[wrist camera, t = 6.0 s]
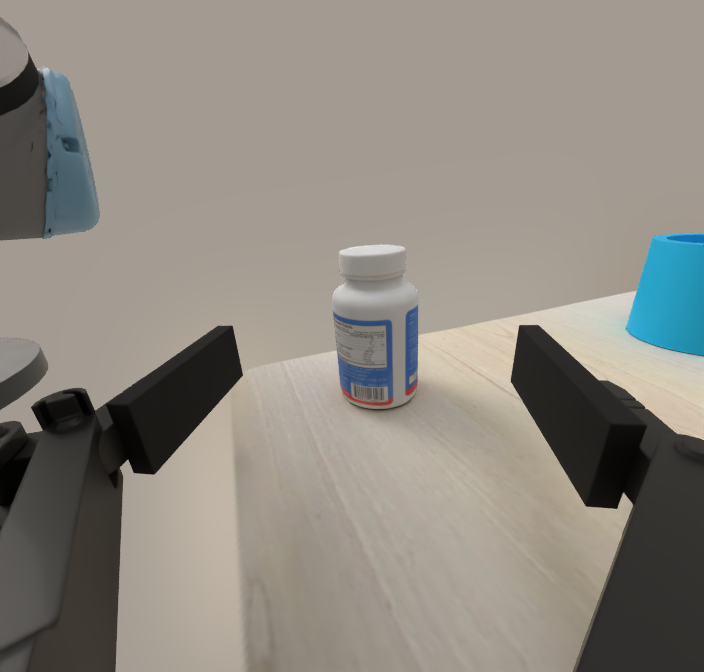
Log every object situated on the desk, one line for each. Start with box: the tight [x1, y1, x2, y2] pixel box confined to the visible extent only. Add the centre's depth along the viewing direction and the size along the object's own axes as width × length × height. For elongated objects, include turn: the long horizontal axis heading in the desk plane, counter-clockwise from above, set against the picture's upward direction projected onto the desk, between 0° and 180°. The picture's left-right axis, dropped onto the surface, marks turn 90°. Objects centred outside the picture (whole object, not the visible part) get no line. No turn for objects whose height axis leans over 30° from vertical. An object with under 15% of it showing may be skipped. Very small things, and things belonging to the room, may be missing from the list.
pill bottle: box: [332, 245, 418, 409], centre depth 21 cm, size 6×5×10 cm
